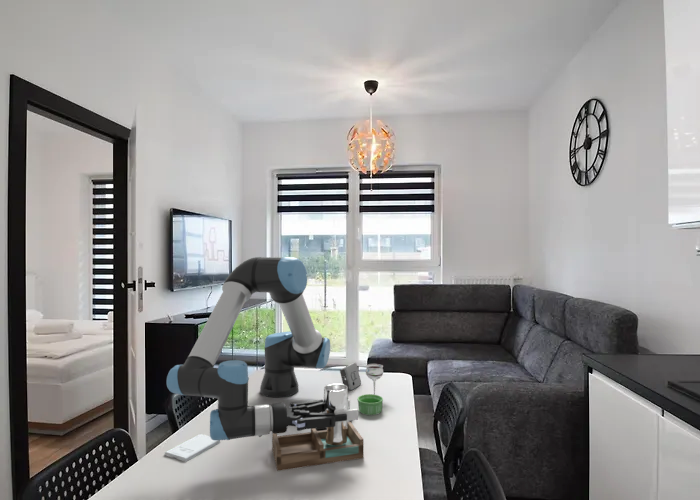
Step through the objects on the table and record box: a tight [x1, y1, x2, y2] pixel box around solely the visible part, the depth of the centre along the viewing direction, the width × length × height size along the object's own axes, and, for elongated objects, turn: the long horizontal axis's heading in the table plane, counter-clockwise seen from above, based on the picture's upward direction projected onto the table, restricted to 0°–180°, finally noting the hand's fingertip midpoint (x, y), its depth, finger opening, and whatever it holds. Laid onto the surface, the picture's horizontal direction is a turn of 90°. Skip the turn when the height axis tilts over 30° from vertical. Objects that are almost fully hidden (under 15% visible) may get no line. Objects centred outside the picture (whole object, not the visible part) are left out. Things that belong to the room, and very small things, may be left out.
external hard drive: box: [164, 433, 221, 462], centre depth 115 cm, size 2×8×12 cm
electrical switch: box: [339, 362, 362, 391], centre depth 169 cm, size 9×5×9 cm, turn 152°
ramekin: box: [356, 393, 384, 416], centre depth 143 cm, size 9×9×4 cm
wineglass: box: [365, 363, 384, 395], centre depth 156 cm, size 7×7×12 cm
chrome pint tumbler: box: [323, 383, 349, 446], centre depth 114 cm, size 7×7×15 cm
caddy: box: [271, 421, 365, 472], centre depth 112 cm, size 12×23×5 cm, turn 107°
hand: (353, 409), depth 115 cm, fingers open, 7 cm apart
